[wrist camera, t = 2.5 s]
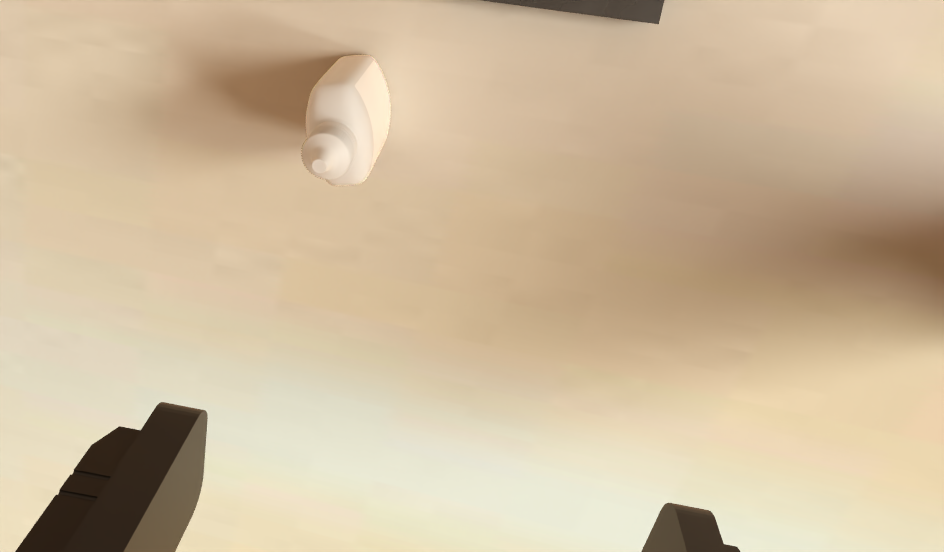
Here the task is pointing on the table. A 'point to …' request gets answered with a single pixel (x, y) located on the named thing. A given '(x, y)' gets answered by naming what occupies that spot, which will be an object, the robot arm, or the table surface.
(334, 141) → the eye dropper bottle
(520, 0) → the arbor press
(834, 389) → the table surface
